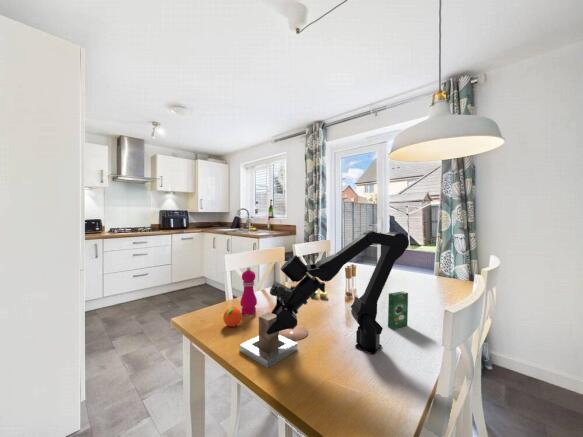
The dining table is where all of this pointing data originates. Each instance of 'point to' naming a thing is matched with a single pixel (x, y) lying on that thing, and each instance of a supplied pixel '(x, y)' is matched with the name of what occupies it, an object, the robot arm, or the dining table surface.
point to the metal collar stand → (271, 358)
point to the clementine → (232, 316)
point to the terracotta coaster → (294, 333)
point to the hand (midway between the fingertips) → (267, 326)
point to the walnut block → (267, 341)
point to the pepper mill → (248, 293)
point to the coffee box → (397, 310)
